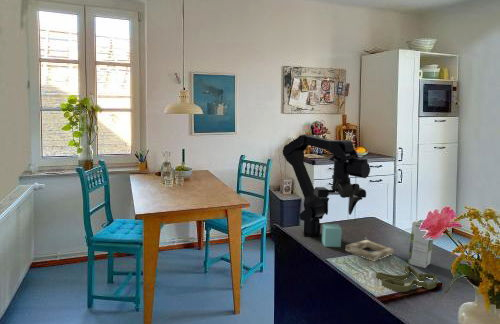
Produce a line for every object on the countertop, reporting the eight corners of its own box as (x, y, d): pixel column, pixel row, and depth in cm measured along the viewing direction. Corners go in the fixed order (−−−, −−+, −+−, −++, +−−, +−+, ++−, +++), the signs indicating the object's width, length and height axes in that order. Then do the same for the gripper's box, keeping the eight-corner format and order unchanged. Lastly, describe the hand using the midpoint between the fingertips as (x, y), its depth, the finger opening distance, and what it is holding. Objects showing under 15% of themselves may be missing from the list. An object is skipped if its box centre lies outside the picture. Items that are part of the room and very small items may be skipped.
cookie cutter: (411, 270, 121) (412, 264, 120) (445, 286, 110) (446, 280, 110) (369, 279, 113) (370, 273, 113) (401, 297, 102) (401, 291, 102)
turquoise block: (324, 246, 139) (325, 228, 138) (321, 241, 145) (322, 223, 144) (340, 247, 139) (341, 228, 138) (337, 241, 145) (338, 224, 144)
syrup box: (412, 259, 129) (416, 218, 127) (431, 263, 126) (435, 221, 124) (407, 263, 125) (411, 221, 123) (426, 269, 121) (430, 225, 119)
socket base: (372, 261, 126) (373, 254, 126) (342, 249, 137) (342, 242, 136) (395, 254, 134) (396, 247, 133) (365, 243, 144) (366, 236, 144)
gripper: (324, 177, 130) (321, 221, 133) (374, 178, 133) (371, 220, 135) (314, 172, 141) (311, 212, 143) (361, 172, 144) (358, 212, 146)
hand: (338, 214), depth 142 cm, fingers open, 9 cm apart
